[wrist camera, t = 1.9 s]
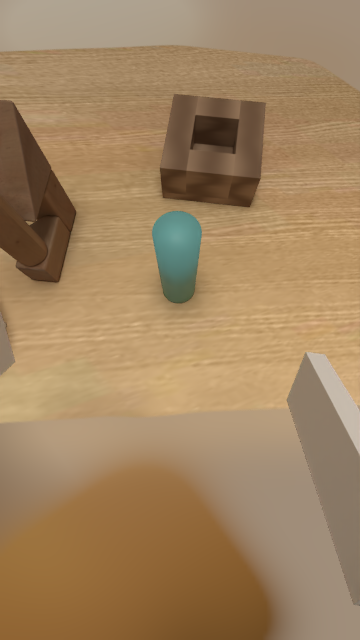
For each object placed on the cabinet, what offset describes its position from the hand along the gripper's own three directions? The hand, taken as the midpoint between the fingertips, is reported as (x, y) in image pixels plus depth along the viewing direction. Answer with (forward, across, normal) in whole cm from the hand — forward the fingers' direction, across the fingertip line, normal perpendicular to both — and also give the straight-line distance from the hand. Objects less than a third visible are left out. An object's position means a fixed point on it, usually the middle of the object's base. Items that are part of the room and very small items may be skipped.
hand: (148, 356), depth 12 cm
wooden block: (+24, -18, -3) cm, 30 cm away
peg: (+21, -1, -6) cm, 22 cm away
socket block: (+35, +1, +8) cm, 36 cm away
